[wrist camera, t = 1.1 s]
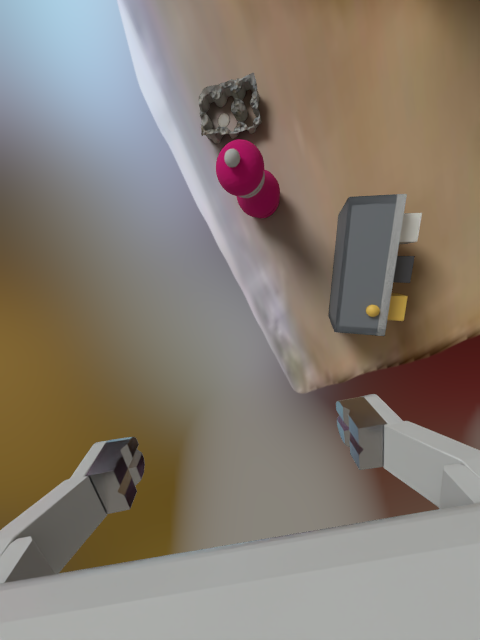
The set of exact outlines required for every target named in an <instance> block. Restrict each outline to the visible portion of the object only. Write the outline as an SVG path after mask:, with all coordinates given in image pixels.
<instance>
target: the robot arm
mask: <svg viewBox="0 0 480 640" xmlns="http://www.w3.org/2000/svg"><path fill="white" fill-rule="evenodd" d="M336 410H337V412H338V414H339V417H338V418H337V426H338V430H339V434H340V436H341V439H342V440H343V442H344V444H345V445H346V446H348V447H350V454H351V456H352V458H353V459H354V461H355V463H356V464H357V466H358V468H359V470H362V469H370V468H377V467H384V468H385V469H386V470H388V471H389V472H390V473H392V474H393V475H394V476H396V477H397V478H399V479H400V480H401V481H403V482H404V483H406V484H407V485H409V486H410V487H411V488H413V489H414V490H416V491H417V492H418V493H420V494H421V495H422V496H424V497H425V498H427V499H428V500H429V501H431V502H432V503H434V504H435V505H437V506H438V507H439V510H432V511H426V512H421V513H415V514H409V515H403V516H397V517H391V518H385V519H379V520H373V521H367V522H362V523H356V524H349V525H343V526H338V527H332V528H326V529H320V530H314V531H308V532H302V533H296V534H290V535H285V536H279V537H273V538H267V539H261V540H255V541H249V542H243V543H237V544H231V545H225V546H220V547H214V548H208V549H201V550H196V551H190V552H184V553H178V554H172V555H166V556H160V557H154V558H149V559H142V560H136V561H131V562H124V563H119V564H113V565H107V566H101V567H95V568H90V569H83V570H78V571H72V572H65V573H60V574H58V573H59V572H60V571H61V570H62V568H63V567H64V566H65V565H66V564H67V562H68V561H69V560H70V558H72V556H73V555H74V554H75V553H76V552H77V550H78V549H79V548H80V547H81V546H82V544H83V543H84V542H85V541H86V540H87V538H88V537H89V536H90V535H91V534H92V532H93V531H94V530H95V529H96V528H97V526H98V525H99V524H100V523H101V522H102V520H103V519H104V518H105V517H106V516H107V514H109V513H114V512H119V511H124V510H129V509H130V508H131V505H132V503H133V500H134V498H135V495H136V492H137V490H136V487H135V486H136V485H137V484H138V482H139V481H140V480H141V479H142V476H143V473H144V466H145V464H144V457H143V455H142V453H141V452H140V451H138V450H137V447H138V445H139V444H138V441H137V439H136V438H135V437H128V438H121V439H115V440H109V441H102V442H97V443H95V444H94V445H93V446H92V447H91V449H90V450H89V452H88V453H87V455H86V456H85V457H84V459H83V460H82V462H81V463H80V465H79V466H78V468H77V469H76V471H75V472H74V474H73V475H72V477H71V478H70V479H69V480H65V481H64V482H62V483H61V484H60V485H58V486H57V487H56V488H54V489H53V490H52V491H51V492H49V493H48V494H47V495H45V496H44V497H43V498H42V499H40V500H39V501H38V502H36V503H35V504H34V505H33V506H31V507H30V508H29V509H27V510H26V511H25V512H23V513H22V514H21V515H20V516H18V517H17V518H16V519H14V520H13V521H12V522H10V523H9V524H8V525H7V526H5V527H4V528H3V529H1V530H0V640H480V451H479V450H477V449H475V448H472V447H470V446H467V445H465V444H463V443H460V442H458V441H455V440H453V439H450V438H448V437H446V436H443V435H441V434H438V433H436V432H433V431H431V430H428V429H426V428H424V427H421V426H419V425H416V424H414V423H411V422H409V421H404V422H403V421H402V420H401V419H400V418H399V417H398V416H397V415H396V414H395V413H394V412H393V411H392V410H391V409H390V408H389V407H388V406H387V405H386V404H385V403H384V402H383V401H382V400H381V399H380V398H379V397H378V396H377V395H376V394H371V395H367V396H362V397H357V398H353V399H346V400H341V401H337V402H336Z"/></svg>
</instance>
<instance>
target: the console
mask: <svg viewBox="0 0 480 640" xmlns="http://www.w3.org/2000/svg"><path fill="white" fill-rule="evenodd" d="M406 196H407V194H396V195H377V196H358V197H349V198H348V200H347V201H346V203H345V205H344V206H343V208H342V210H341V212H340V213H339V215H338V225H337V235H336V245H335V255H334V265H333V275H332V285H331V295H330V305H329V318H330V321H331V324H332V326H333V329H334V332H340V333H353V334H365V335H377V336H385V331H386V324H387V318H388V312H389V305H390V299H391V292H392V286H393V279H394V273H395V266H396V260H397V254H398V247H399V241H400V234H401V228H402V221H403V215H404V209H405V202H406Z"/></svg>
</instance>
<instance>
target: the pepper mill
mask: <svg viewBox="0 0 480 640" xmlns="http://www.w3.org/2000/svg"><path fill="white" fill-rule="evenodd" d="M216 173H217V177H218V180H219V182H220V184H221V185H222V187H223V188H224V189H225V190H226V191H227V192H229V193H230V194H232V195H236V196H237V200H238V203H239V205H240V207H241V208H242V210H243V211H244V212H245V213H246V214H248V215H250V216H252V217H257V218H266V217H269V216H270V215H272V214H273V213H274V212H275V211H276V209H277V207H278V205H279V199H280V197H279V196H280V188H279V184H278V182H277V180H276V178H275V177H274V176H273V175H272V174H271V173H270V172H269V171H267V170H264V161H263V157H262V155H261V153H260V151H259V150H258V148H257V147H256V146H255V145H254V144H253V143H251V142H249V141H247V140H242V139H237V140H233V141H231V142H229V143H228V144H227V145H225V146H224V148H223V149H222V150H221V152H220V153H219V156H218V158H217V162H216Z"/></svg>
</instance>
